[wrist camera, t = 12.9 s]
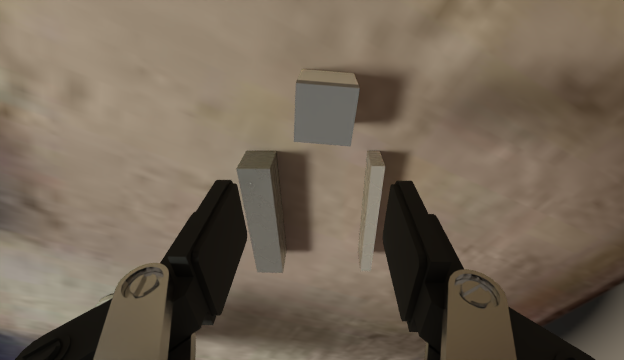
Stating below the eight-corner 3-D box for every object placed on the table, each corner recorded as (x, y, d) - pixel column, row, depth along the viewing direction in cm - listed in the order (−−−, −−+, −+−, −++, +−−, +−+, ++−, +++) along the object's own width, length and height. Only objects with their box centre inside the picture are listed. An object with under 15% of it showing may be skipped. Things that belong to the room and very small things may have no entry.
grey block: (346, 122, 25) (350, 146, 21) (299, 119, 25) (293, 141, 21) (353, 73, 23) (359, 88, 19) (301, 68, 23) (295, 82, 19)
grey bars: (367, 251, 34) (371, 274, 31) (263, 249, 35) (257, 272, 32) (379, 150, 26) (386, 169, 24) (246, 151, 27) (236, 168, 24)
